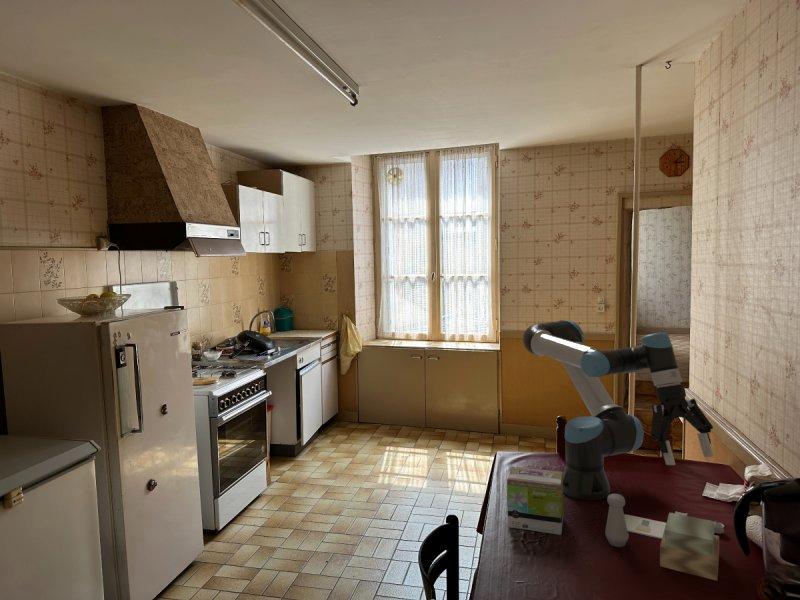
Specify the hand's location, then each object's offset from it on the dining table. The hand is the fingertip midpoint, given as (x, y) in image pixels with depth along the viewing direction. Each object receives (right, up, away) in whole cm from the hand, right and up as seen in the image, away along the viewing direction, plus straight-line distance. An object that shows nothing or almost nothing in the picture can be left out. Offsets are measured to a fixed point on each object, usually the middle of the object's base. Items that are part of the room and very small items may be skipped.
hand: (690, 460), depth 146 cm
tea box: (-42, -20, +4) cm, 47 cm away
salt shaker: (-24, -20, -8) cm, 32 cm away
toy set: (+1, -18, -2) cm, 19 cm away
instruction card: (-13, -18, 0) cm, 23 cm away
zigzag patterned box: (-10, -20, -17) cm, 28 cm away
